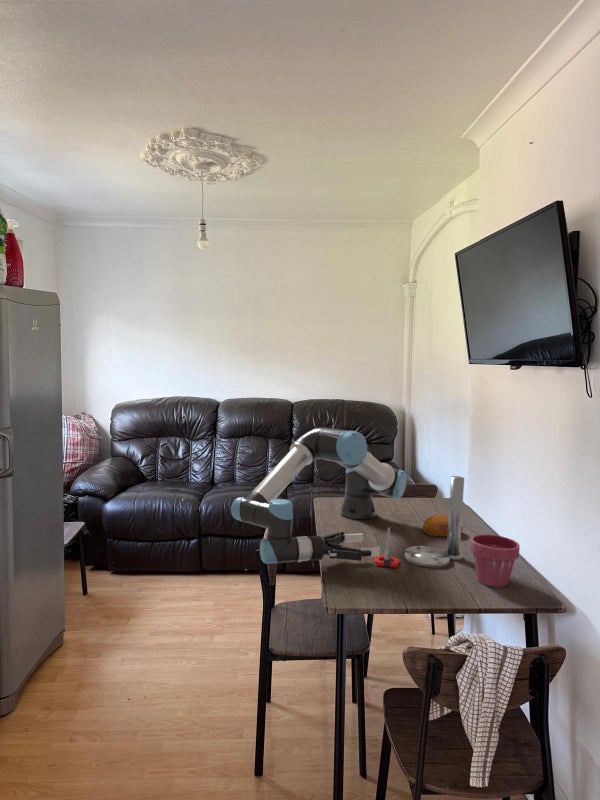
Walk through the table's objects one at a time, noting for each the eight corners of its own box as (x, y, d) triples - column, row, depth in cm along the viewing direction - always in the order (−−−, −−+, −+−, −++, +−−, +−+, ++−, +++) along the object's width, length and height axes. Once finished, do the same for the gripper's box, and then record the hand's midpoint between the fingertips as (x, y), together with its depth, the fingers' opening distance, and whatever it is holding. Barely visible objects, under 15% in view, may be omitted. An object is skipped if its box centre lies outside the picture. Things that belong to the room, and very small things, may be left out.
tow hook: (374, 557, 193) (373, 566, 184) (376, 520, 192) (375, 527, 183) (399, 560, 192) (399, 569, 182) (401, 522, 191) (402, 529, 182)
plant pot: (507, 573, 182) (510, 534, 181) (524, 591, 168) (527, 550, 167) (463, 571, 182) (465, 532, 181) (475, 589, 168) (478, 547, 167)
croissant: (464, 544, 216) (469, 524, 215) (425, 537, 215) (429, 517, 214) (453, 531, 231) (457, 512, 230) (416, 525, 230) (420, 506, 229)
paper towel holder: (397, 553, 197) (401, 474, 195) (449, 549, 203) (453, 472, 201) (417, 569, 183) (422, 484, 180) (473, 564, 189) (478, 482, 186)
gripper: (297, 546, 191) (355, 542, 197) (321, 575, 167) (386, 569, 173) (298, 525, 190) (356, 521, 196) (322, 550, 166) (387, 546, 173)
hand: (370, 544), depth 185 cm, fingers open, 13 cm apart
